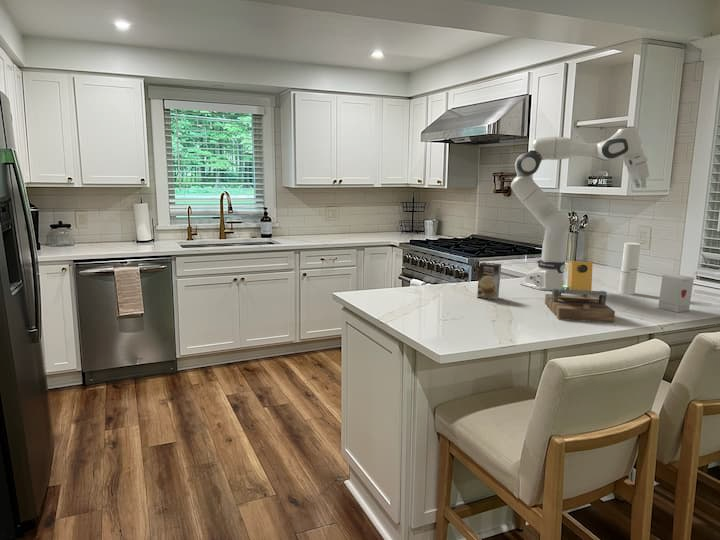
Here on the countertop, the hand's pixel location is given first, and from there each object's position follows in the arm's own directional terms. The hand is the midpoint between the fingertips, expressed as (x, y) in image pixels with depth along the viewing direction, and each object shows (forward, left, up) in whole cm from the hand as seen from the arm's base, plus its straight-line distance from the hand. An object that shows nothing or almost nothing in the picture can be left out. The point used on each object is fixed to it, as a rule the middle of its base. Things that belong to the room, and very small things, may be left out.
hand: (641, 187), depth 256 cm
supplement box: (+27, -16, -52) cm, 61 cm away
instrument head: (+7, -59, -44) cm, 74 cm away
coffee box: (-32, -70, -52) cm, 93 cm away
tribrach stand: (+7, -59, -52) cm, 79 cm away
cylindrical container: (-1, -1, -52) cm, 52 cm away
